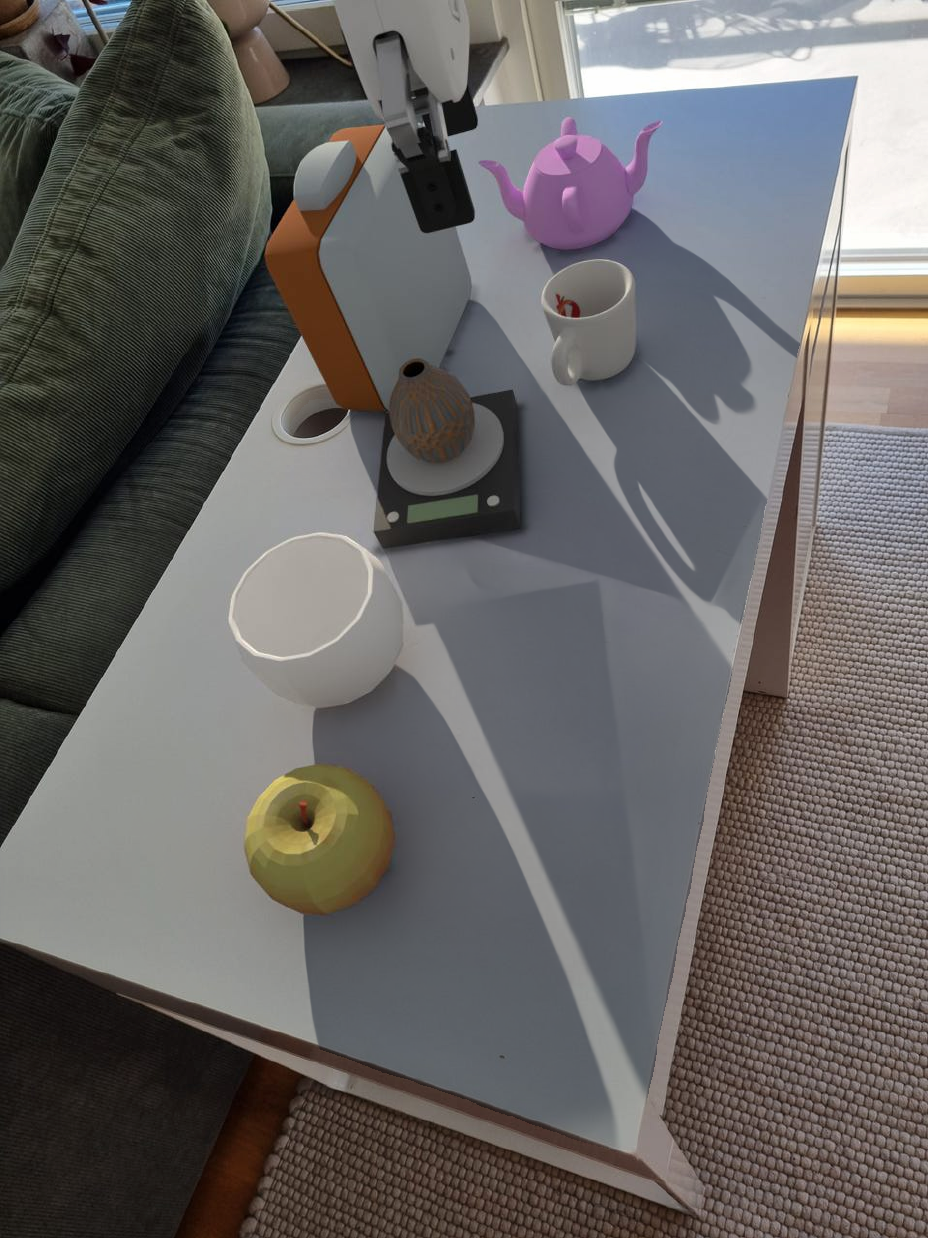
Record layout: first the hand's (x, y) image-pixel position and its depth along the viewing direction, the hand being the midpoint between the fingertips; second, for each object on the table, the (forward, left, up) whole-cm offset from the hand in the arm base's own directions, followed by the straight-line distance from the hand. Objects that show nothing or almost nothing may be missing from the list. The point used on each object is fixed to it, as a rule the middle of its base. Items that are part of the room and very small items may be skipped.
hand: (451, 176), depth 56 cm
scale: (+8, -4, -29) cm, 30 cm away
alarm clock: (+13, -22, -29) cm, 38 cm away
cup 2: (-5, -14, -29) cm, 32 cm away
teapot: (-5, -37, -29) cm, 47 cm away
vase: (+8, -4, -26) cm, 28 cm away
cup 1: (+16, +14, -29) cm, 36 cm away
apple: (+15, +30, -29) cm, 45 cm away
